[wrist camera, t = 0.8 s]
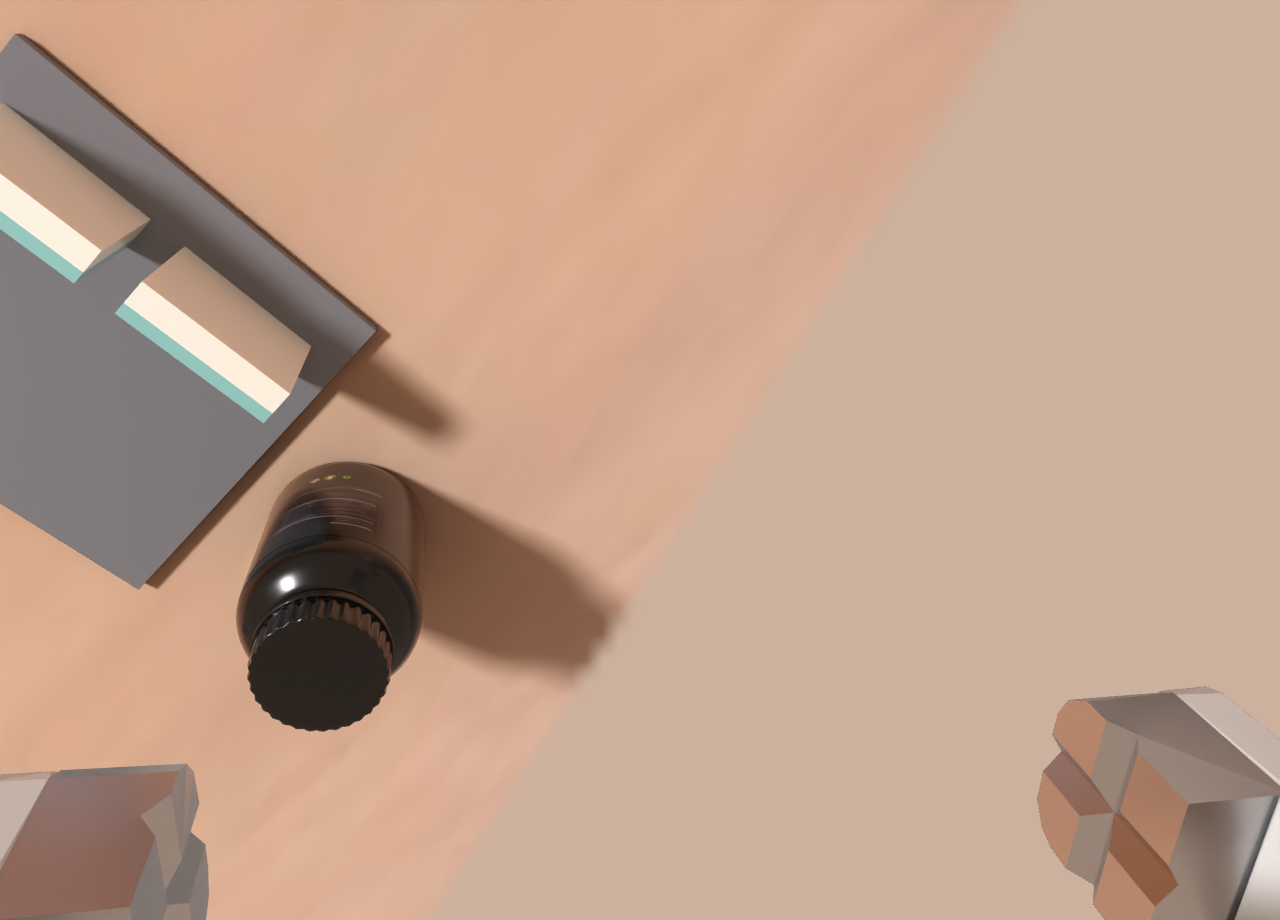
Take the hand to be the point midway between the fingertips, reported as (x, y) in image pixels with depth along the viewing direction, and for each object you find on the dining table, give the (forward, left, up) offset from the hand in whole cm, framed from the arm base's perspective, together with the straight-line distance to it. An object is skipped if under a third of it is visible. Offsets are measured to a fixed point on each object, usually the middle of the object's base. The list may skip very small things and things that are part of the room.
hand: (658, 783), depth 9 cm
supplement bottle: (+15, +5, -35) cm, 39 cm away
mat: (+15, -8, -35) cm, 39 cm away
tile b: (+10, -12, -34) cm, 38 cm away
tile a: (+10, -5, -34) cm, 36 cm away
